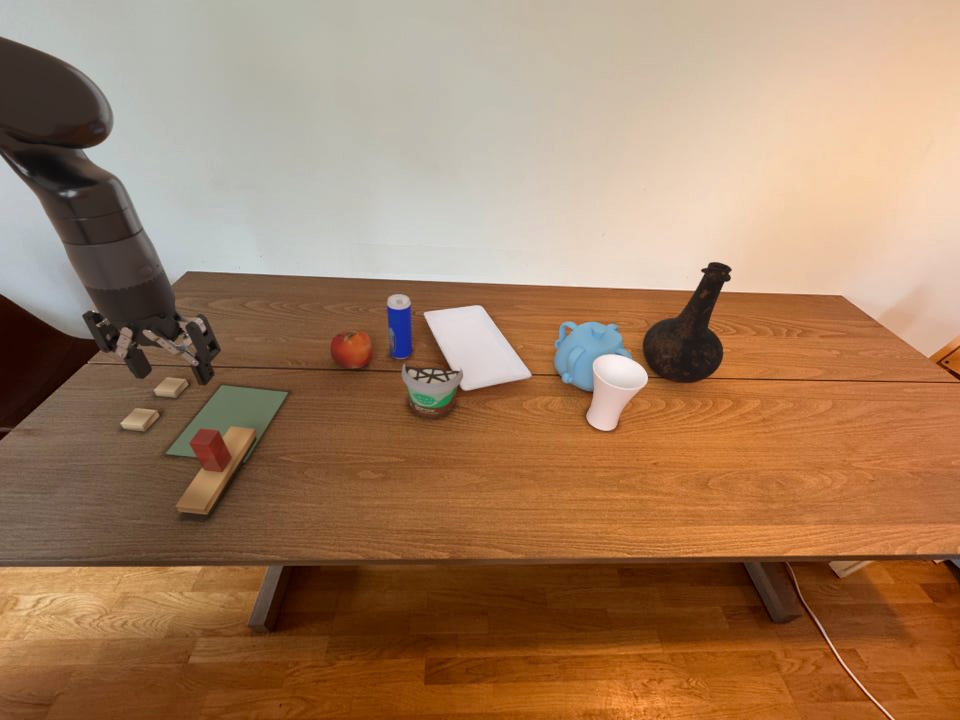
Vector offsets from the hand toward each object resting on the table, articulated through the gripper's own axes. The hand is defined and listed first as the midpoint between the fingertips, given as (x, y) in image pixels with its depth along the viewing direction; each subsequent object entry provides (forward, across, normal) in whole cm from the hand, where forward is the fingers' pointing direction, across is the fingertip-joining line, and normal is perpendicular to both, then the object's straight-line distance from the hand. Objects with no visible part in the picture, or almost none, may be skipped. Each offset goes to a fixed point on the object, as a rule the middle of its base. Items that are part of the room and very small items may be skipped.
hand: (175, 378), depth 57 cm
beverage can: (+22, -22, -38) cm, 49 cm away
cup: (+22, -68, -23) cm, 75 cm away
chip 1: (+22, +21, -9) cm, 32 cm away
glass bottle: (+22, -89, -43) cm, 101 cm away
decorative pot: (+22, -66, -37) cm, 79 cm away
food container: (+22, -32, -20) cm, 44 cm away
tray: (+22, -39, -42) cm, 61 cm away
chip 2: (+22, +21, -18) cm, 35 cm away
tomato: (+22, -12, -33) cm, 42 cm away
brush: (+22, 0, 0) cm, 22 cm away
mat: (+22, +5, -12) cm, 26 cm away
